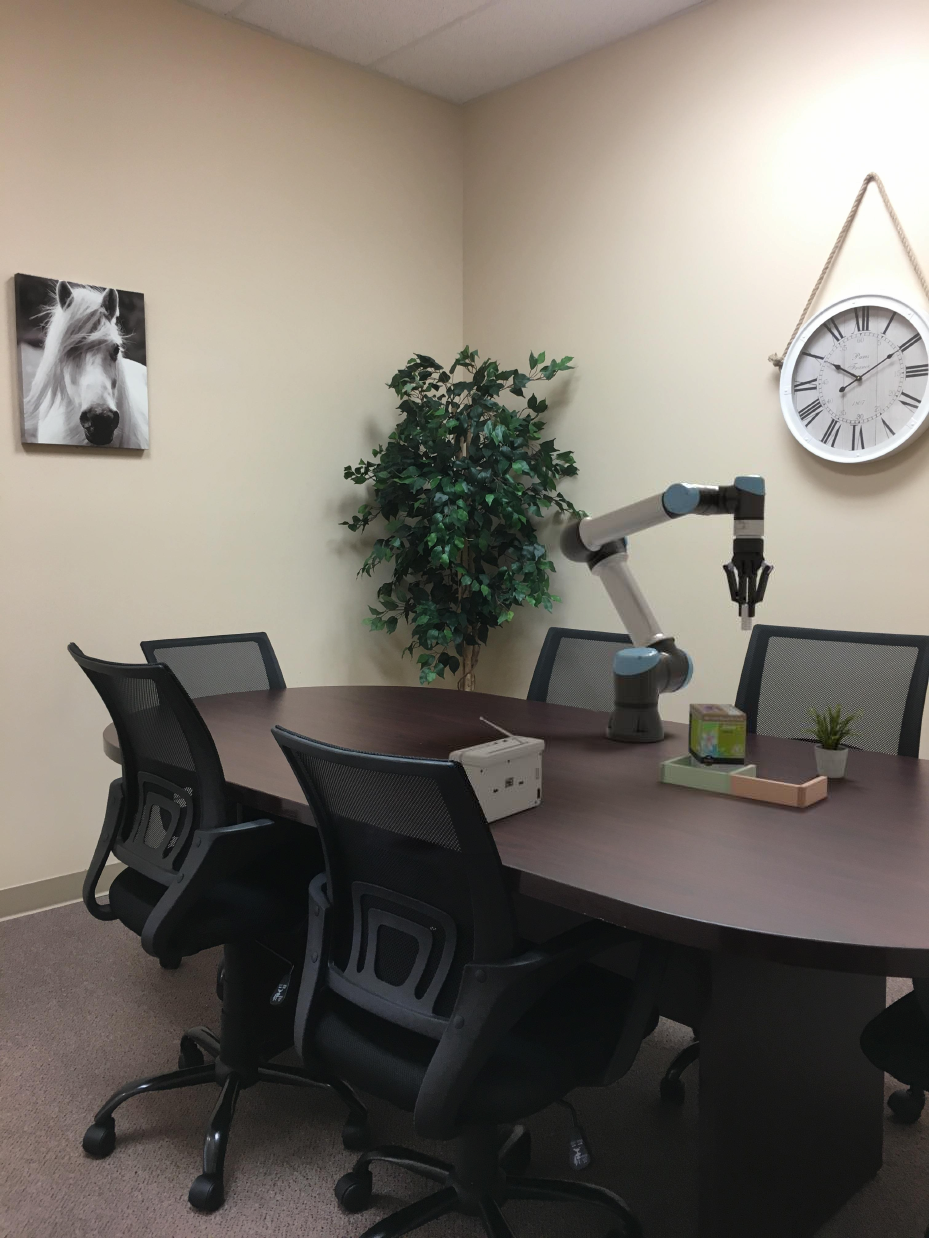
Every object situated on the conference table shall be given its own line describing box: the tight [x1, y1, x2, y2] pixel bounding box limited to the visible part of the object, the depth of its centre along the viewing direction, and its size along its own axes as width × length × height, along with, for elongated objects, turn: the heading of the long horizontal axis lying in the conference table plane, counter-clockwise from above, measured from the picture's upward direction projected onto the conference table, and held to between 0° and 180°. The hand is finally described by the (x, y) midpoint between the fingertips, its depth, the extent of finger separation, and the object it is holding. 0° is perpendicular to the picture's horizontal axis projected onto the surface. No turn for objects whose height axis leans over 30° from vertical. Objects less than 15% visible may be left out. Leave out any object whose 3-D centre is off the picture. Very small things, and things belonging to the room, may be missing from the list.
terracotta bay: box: [729, 774, 828, 809], centre depth 193 cm, size 15×12×4 cm
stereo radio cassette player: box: [448, 716, 546, 824], centre depth 180 cm, size 21×8×20 cm, turn 141°
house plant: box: [803, 702, 865, 779], centre depth 209 cm, size 14×14×16 cm
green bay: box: [659, 753, 757, 795], centre depth 204 cm, size 16×12×4 cm
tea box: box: [687, 703, 747, 773], centre depth 212 cm, size 15×10×15 cm, turn 177°
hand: (746, 629), depth 243 cm, fingers closed
